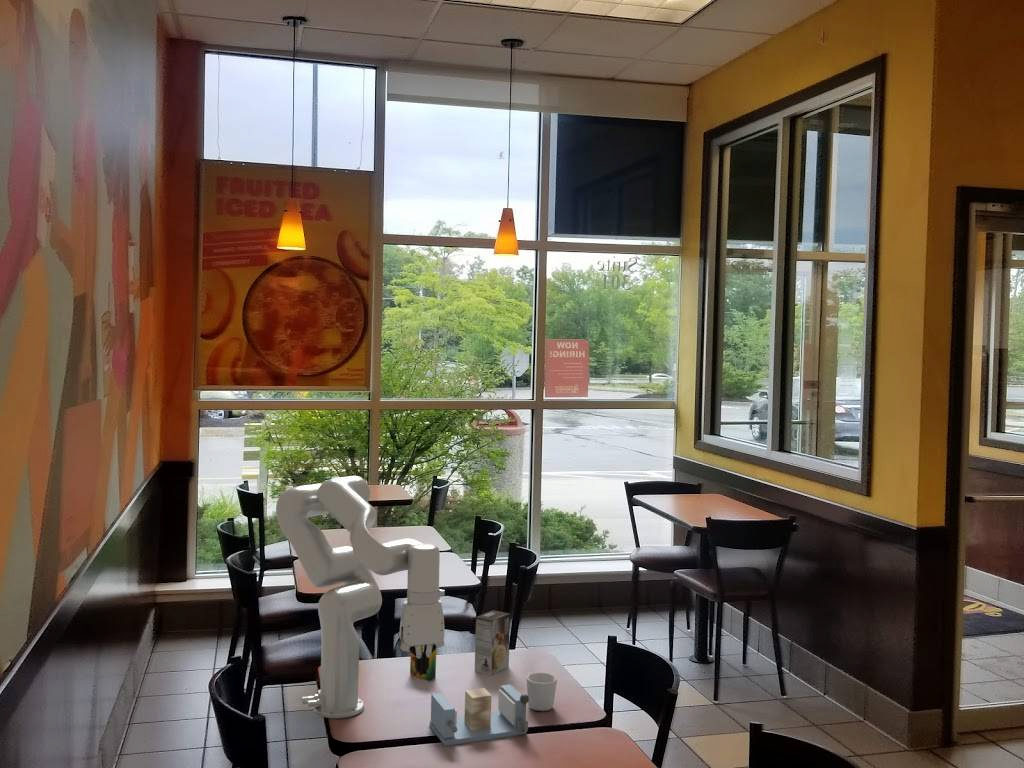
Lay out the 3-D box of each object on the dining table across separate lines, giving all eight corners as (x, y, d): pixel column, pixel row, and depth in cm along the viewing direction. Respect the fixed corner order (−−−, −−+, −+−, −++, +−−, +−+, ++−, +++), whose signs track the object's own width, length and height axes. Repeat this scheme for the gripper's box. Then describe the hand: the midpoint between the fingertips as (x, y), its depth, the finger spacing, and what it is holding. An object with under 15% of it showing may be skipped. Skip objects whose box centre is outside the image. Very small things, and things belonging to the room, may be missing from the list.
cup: (516, 700, 242) (517, 670, 241) (543, 696, 245) (544, 667, 244) (533, 715, 232) (534, 684, 231) (561, 711, 235) (562, 681, 235)
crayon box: (409, 675, 257) (410, 635, 257) (416, 672, 260) (417, 632, 259) (429, 681, 253) (430, 640, 252) (436, 678, 255) (437, 638, 255)
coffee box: (491, 662, 270) (493, 609, 269) (509, 667, 266) (510, 613, 266) (473, 671, 262) (475, 616, 262) (491, 676, 259) (493, 620, 258)
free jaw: (449, 745, 210) (450, 716, 209) (430, 721, 223) (431, 693, 223) (462, 743, 211) (463, 714, 210) (443, 719, 224) (443, 692, 224)
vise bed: (447, 749, 211) (448, 706, 210) (429, 725, 224) (430, 684, 223) (529, 737, 219) (531, 695, 218) (507, 714, 232) (509, 675, 231)
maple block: (471, 730, 219) (472, 697, 218) (464, 722, 223) (465, 690, 223) (490, 727, 221) (491, 695, 220) (483, 719, 225) (484, 688, 225)
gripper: (447, 590, 221) (446, 664, 222) (388, 595, 215) (387, 671, 216) (457, 598, 214) (456, 674, 215) (396, 603, 209) (395, 682, 209)
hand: (421, 672), depth 215 cm, fingers closed
